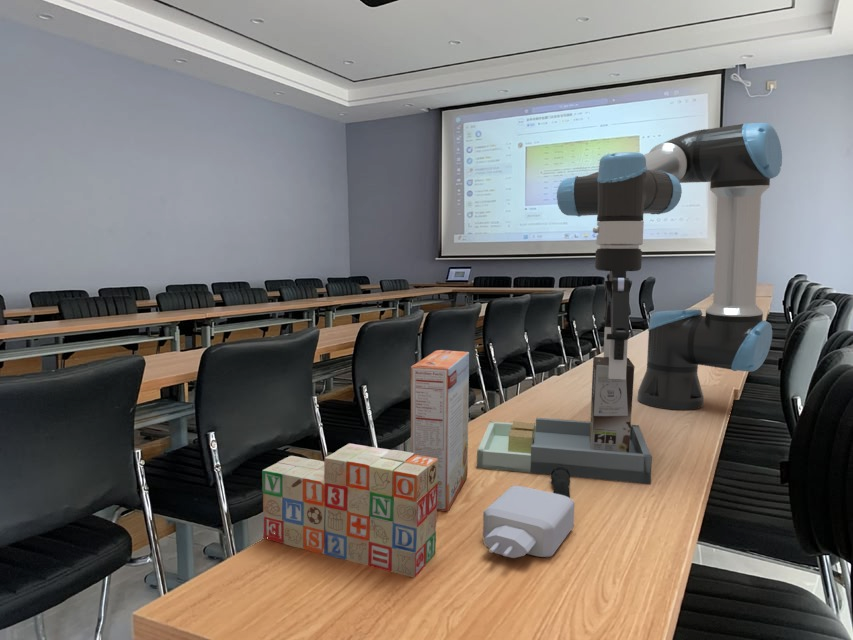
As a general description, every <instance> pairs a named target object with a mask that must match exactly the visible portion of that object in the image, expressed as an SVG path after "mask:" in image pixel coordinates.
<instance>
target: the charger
mask: <svg viewBox="0 0 853 640" xmlns="http://www.w3.org/2000/svg"><path fill="white" fill-rule="evenodd" d="M482 520H483V521H482V524H483V525H482V536H483V539H482V542H483V543H484V545H485V546H486V547H488V552H489V553H491V554H493V553H495V554H498V555H500V556H503V557H508V558H511V559H516V558H520V557H525V555H526V554H527V555H531V556H534V557H539V558H551V557H552V556H553V555H554V554H555V552H556V551H557V550H558V549H559V547H560V545H561V544H562V543H563V541H564V540H565V539H566V537H567V536H568V535H569V533H570V532H571V531H572V530H573V528H574V526H575V525H574V523H575V522H574V521H575V501H574V500H573V499H572V498H571V497H570V498H569V497H567V496H564V495H560V494H555V493H554V492H550V491H545V490H541V489H535V488H531V487H525V486H523V485H522V486H521V485H513V486H511V487H509V488H508V489H507V490H505V491H504V493H503V494H502V495H500V496H499V497H498V498H496V499H495V500H494V501H493V502H492V503H491V504H489V506H488V507H487V508H485V510H483V519H482Z"/></svg>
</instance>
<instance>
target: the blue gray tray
mask: <svg viewBox="0 0 853 640" xmlns="http://www.w3.org/2000/svg"><path fill="white" fill-rule="evenodd" d="M535 425H536V432H535V438H534V444H533V445H531V467H530V473H529V474H537V475H538V474H540V475H548V476H551V471H552V470H553V468H555V467H557V466H561V467H565V468H566V469H567V470H568V471H569V473H570V478H582V479H591V480H604V481H610V482H611V481H613V482H622V483H634V484H644V485H651V483H652V468H653V467H652V465H653V464H652V463H653V455H652V453H651V451H650V449H649V446H648V444H647V441H646V440H645V437H644V434H643V432H642V430H641V427H640V425H639V424H631V428H630V444H629V453H626V452H614V451H602V450H591V449H590V421H587V420H586V421H585V420H573V419H562V418H561V419H560V418H559V419H558V418H547V417H536V418H535Z"/></svg>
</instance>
